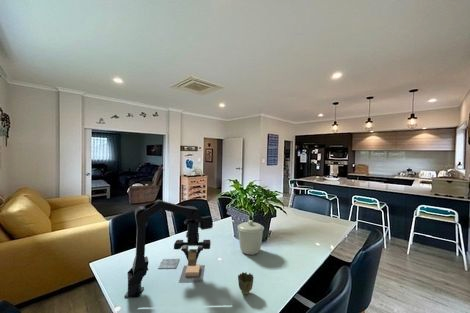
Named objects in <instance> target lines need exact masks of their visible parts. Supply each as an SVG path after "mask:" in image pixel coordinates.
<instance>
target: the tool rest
mask: <svg viewBox="0 0 470 313" xmlns="http://www.w3.org/2000/svg"><path fill="white" fill-rule="evenodd" d="M179 262H180V258H162V260H161V262H160V264H159V265H158V267H157V269H158V270H170V269H175V270H176V269H177V267H178V264H179Z"/></svg>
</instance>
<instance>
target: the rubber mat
mask: <svg viewBox="0 0 470 313" xmlns="http://www.w3.org/2000/svg"><path fill="white" fill-rule="evenodd" d="M205 266H206V265H203V264H200V271H199V276H188V277H185V272H186V269H187V265H183V268H182V271H181V274H180V277H179V279H178V283H179V284H183V283H184V284H189V283H190V284H191V283H192V284H193V283H198V284H199V283H203V282H204V281H203V280H204V273H205Z"/></svg>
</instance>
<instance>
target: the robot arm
mask: <svg viewBox="0 0 470 313" xmlns="http://www.w3.org/2000/svg"><path fill="white" fill-rule="evenodd" d="M160 210H163V211H167V212H170V213H173V214H177V215H178V214H179V215H182V216H184V217H186V219H185V220H184V221H183V223H184V225H187V231H186V233H185V235H186V236H185V237H186V238H187V241H184V239H177V240H175V242H174V244H173V250H180V251H181V252H183V254H184V255H185V257H186V260H187V261H188V252H189V247H197V255H196V261H197V262H198V258H199V255H200V253H201V252H202V251H204V250H210V249H211V245H212V244H211V239H203V240H202V241H200V233H199V229H200V230H202V231H203V230H204V231H205V230H210V229H213V226H214V222H213V218H212V216H211V215H206V216H201V212H200V210H199V208H196V207H195V206H193V205H191V206H190V205H185V206H184V205H179V204H176V203H173V202H168V201H165V200H161V199H157V200H155V201H153V202H150V203H147V204H145V205H141V206H138V207H136V209H135V210H134V217H135V223H136V238H135V239H136V241H135V242H136V243H135V257H134V259H133V262H132V267H131V268H130V269H129V270H128V271H127V292H126V293H125V295H124V298H139V297H140V296H141V294H142V293H143V291H144V290H145V287H144V286H142V281H143V279H144V277H145V276H146V275H147V272H148V271H149V268H148V266H149V258H148V256H147V255H146V256H145V254H146V232H147V231H146V230H147V225H148V222H149V218H150V217H151V216H153V215H154V214H156V213H157V212H158V211H160Z"/></svg>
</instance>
